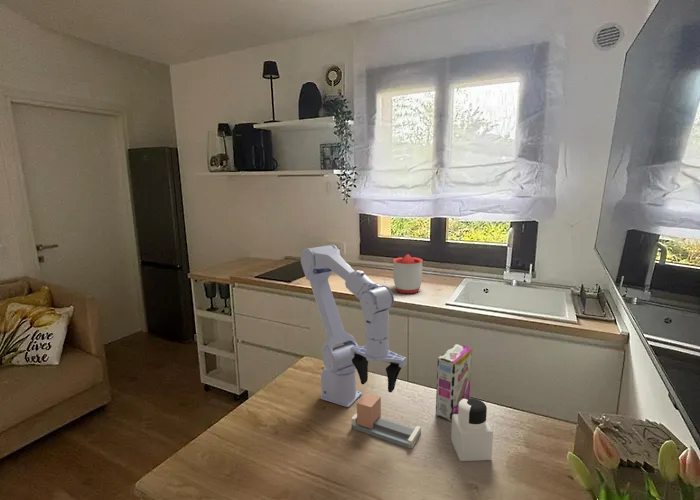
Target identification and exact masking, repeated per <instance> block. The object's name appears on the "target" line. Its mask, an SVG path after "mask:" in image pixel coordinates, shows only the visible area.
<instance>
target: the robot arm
mask: <svg viewBox="0 0 700 500" xmlns="http://www.w3.org/2000/svg"><path fill="white" fill-rule="evenodd" d="M340 250H341V249H339V248H337V246H336V244H328V245H323V246H317V247H315V246H314V247H310V248H309V247H307V248H306V247H305V248H304V249H303V250H302V252H301V255H300V264H301V268H302V271H303V273H304V277H305V279H306V280H308V281H309V284H310V287H311V290H312V293H313V297H314V300H315V303H316V306H317V309H318V312H319V316H320V319H321V322H322V326H323V328H324V331H325V334H326V339H325V341H324V343H323V344H322V346H321V353H322V363H323V365H324V367H323V369H322V371H321V376H320V380H321V381H320V383H321V395H320V396H319V399H320V400H323V401H327V402H330V403H333V404H335V405H336V404H337V405H338V406H342V407H346V408H350V407H351V406H352V405H353V403H355V402H356V401H357V400H358V399H359V398H360V397H361V396H362V395H363V392H362V391H359V390H357V385H356V384H357V378H356V377H357V375H356V371H357V374H358V377H359V380H360V383H361V385H365V384H366V383H367V382H368V378H369V376H368V375H369V373H368V372H369V370H368V369H369V367H368V366H369V362H372V363H374V362H383V363H387V364H389V365H388V366H386V367H385V372H386V375H387V392H388V393H393V391H394V390H395V387H396V382H397V379H398V376H399V374H400V372H401V370H402V369H403V368H404V367H405V366H406V365H407V357H406V356H402V355H400V354H398V353H396V352H393V351H392V350H390V325H389V324H390V312H389V311H390V309H392V307H393V306H394V303H395V297H394V294H393V291H392V290H391V289H390V287H388V285H384V284H383V285H381V284H377V283H376V282H375V281H374V280H373V279H371V278H370V277H369V276H368V275H366V273H365V272H364V271H363V270H358V269H357V270H355V269H353V268H352V267H351V265H349V263H347V262H346V260H345V259H343V257H342V256H341V255H342V254H341V252H340ZM333 274H336V275H337V276H338V277H340V278H341V279H342V280H344V281H345V282H344V285H345V288H346V289H347V290H348V291H349V292H351V294H353V296H355V298H357V299H358V300H359V305H360V308H361V310H362V316H363V318H364V321H365V322H364V323H365V325H364V326H365V328H364V329H365V332H364V334H365V346H364V345H358V343H357V341H356V339H355V336H354V335H352V334H350V333H348V332H346V331H345V328H344V325H343V322H342V319H341V315H340V312H339V310H338V306H337V304H336V301H335V300H336V299H335V298H334V295H333V291H332V289H331V286H330V283H329V278H330V277H331V276H332V275H333ZM335 346H336V347H335Z"/></svg>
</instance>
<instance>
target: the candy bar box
mask: <svg viewBox="0 0 700 500" xmlns="http://www.w3.org/2000/svg"><path fill="white" fill-rule="evenodd" d="M472 355H473V348H472V347H469V346H464V345H461V344H457V343H456V344H454V345H453V346H452V347H450V348H449V349H447V351H445V352H444V353H442V354H441V355H439V356H438V357H437V369H436V372H437V373H436V397H435V416H437V417H439V418H442V419H444V420H445V421H446V420H447V421H449V422H452V415H453V414H458V408H459V402H460V401H461V400H462V399H464V398H470V391H471V375H472V374H471V372H472V357H473V356H472Z"/></svg>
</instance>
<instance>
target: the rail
mask: <svg viewBox="0 0 700 500" xmlns="http://www.w3.org/2000/svg"><path fill="white" fill-rule="evenodd" d="M351 429H353V430H356V431H359V432H362V433H364V434H368V435H370V436H373V437H377V438H379V439H381V440H385V441H387V442H391V443H393V444H396V445H398V446H402V447H404V448H408V449H410V450H411V449H413V447H414V446H415V444H416V443H417V442H418V439H419V438H420V436H421V433H422V427H421V426H419V425H416V426H415V427H414V428H413V427H412V426H407V425H404V424H401V423H399V422H394V421H393V420H388V419H385V418H383V417H381V418H380V419H379V418H378V419H377V420H376V421H375V422H374V423H373V428H372V429H371V428H368V427H365V426H362V425H359V424H357V412H356V413H354V414H353V416H352V417H351Z"/></svg>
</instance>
